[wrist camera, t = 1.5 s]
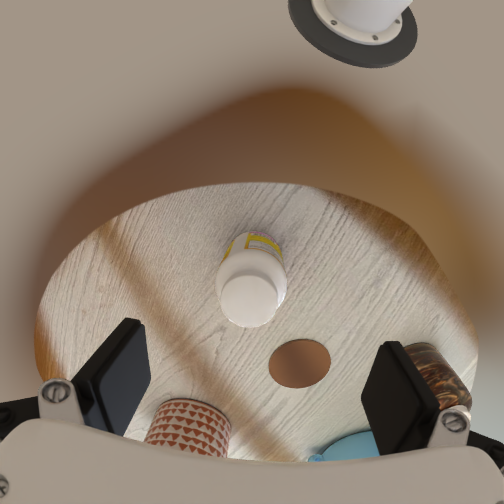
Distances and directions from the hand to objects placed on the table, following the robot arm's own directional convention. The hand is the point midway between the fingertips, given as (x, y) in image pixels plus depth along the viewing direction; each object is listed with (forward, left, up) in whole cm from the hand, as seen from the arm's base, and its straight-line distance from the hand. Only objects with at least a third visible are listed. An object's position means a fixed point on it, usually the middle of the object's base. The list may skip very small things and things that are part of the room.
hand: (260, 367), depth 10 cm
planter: (+33, +15, -25) cm, 44 cm away
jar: (-1, +33, -25) cm, 41 cm away
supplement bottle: (+3, +1, -25) cm, 25 cm away
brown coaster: (+10, +17, -25) cm, 32 cm away
